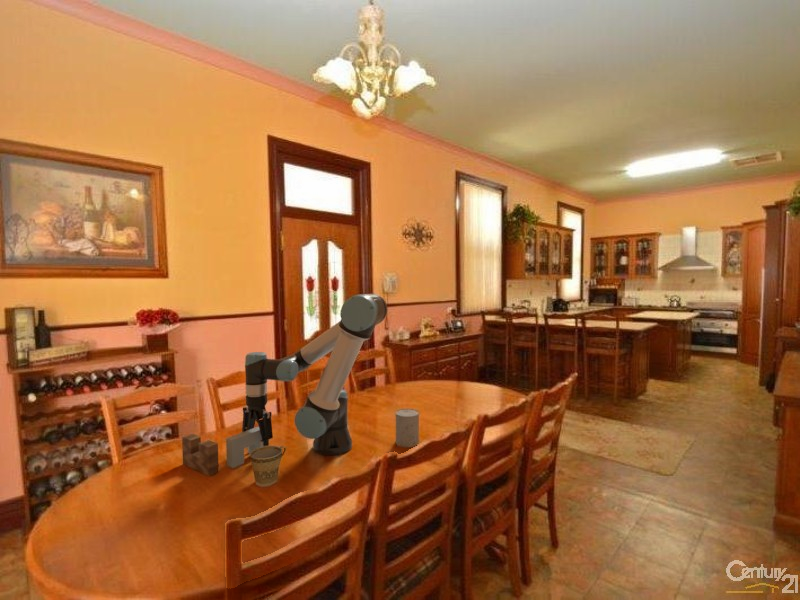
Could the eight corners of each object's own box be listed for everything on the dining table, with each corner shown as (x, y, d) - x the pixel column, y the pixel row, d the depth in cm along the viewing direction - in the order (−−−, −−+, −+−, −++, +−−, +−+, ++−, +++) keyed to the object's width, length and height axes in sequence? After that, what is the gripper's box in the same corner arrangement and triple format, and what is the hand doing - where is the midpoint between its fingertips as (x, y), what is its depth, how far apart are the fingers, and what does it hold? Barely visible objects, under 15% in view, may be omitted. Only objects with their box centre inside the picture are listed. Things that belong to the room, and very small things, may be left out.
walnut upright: (218, 472, 137) (217, 443, 136) (209, 476, 134) (208, 447, 133) (192, 460, 145) (191, 433, 145) (182, 464, 142) (182, 436, 142)
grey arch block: (265, 453, 151) (265, 427, 150) (232, 468, 139) (232, 440, 139) (259, 451, 153) (259, 425, 152) (226, 465, 141) (226, 438, 141)
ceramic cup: (264, 493, 123) (263, 461, 123) (243, 484, 129) (243, 453, 128) (296, 475, 134) (295, 446, 134) (275, 467, 140) (275, 440, 139)
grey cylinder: (422, 440, 164) (422, 410, 163) (413, 449, 155) (413, 418, 155) (401, 436, 168) (401, 407, 167) (391, 444, 159) (391, 414, 159)
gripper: (282, 396, 146) (283, 457, 148) (248, 387, 157) (249, 444, 159) (266, 401, 140) (267, 465, 141) (231, 392, 151) (232, 451, 152)
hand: (257, 454), depth 150 cm, fingers open, 7 cm apart
